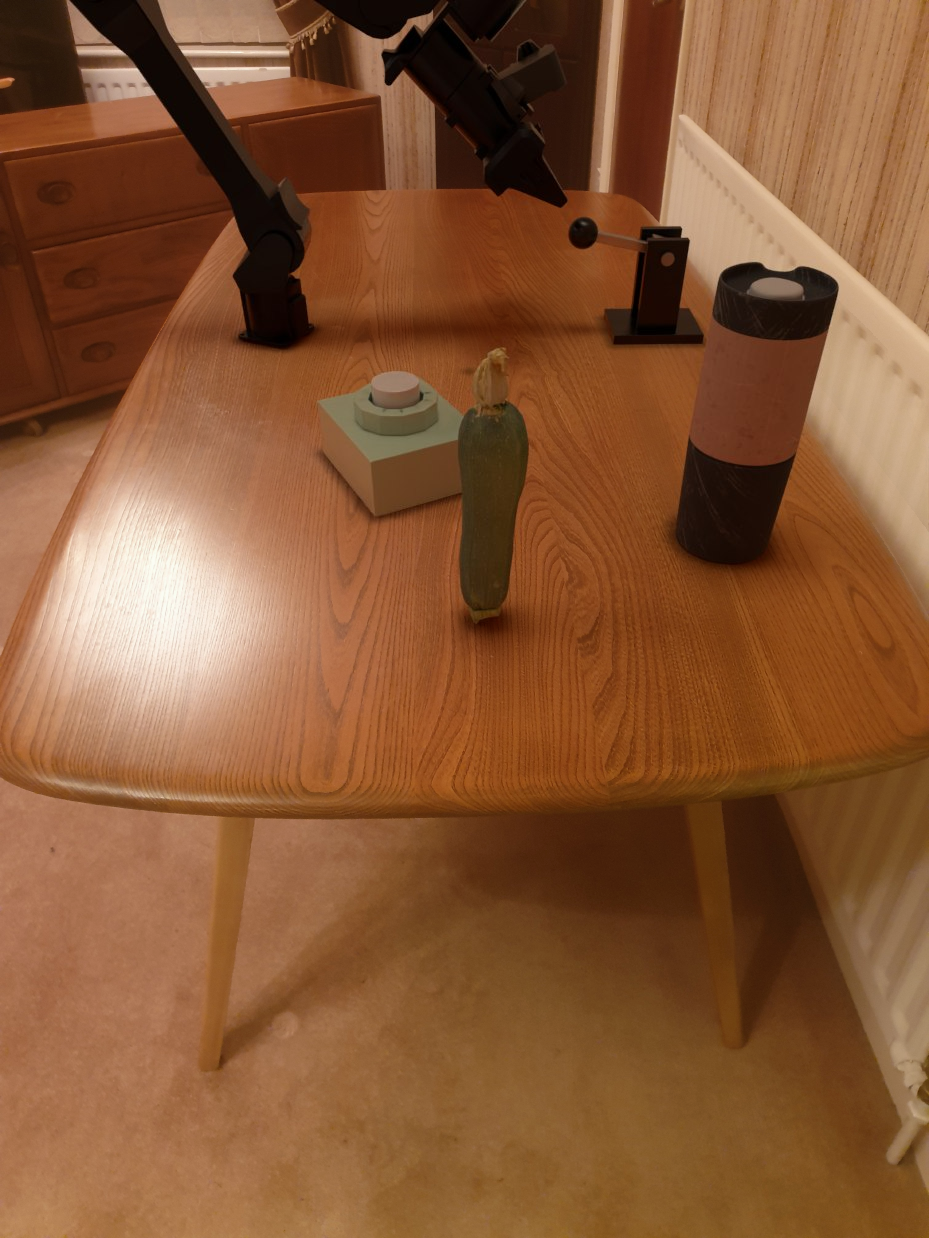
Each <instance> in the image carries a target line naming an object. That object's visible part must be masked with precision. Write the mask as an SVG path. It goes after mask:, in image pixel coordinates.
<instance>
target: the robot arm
mask: <svg viewBox="0 0 929 1238" xmlns="http://www.w3.org/2000/svg"><path fill="white" fill-rule="evenodd" d="M68 1H69V2H70V3H71V4H72V5H73V6H74V7H75V8H76V10H78V12H79V13H80V14H81V15H82V16H83V17H84V19H86V20H87V21H88V23H89V24H90V25H92V27H93V28H94V29H95V30H96V31H97V32H98V33H99V34H100V35H101V36H103V37H104V38H105V39H106V40H108V42H110V43H111V44H112V45H114V46H115V47H116V48H117V49H118V50H120V51H121V52H122V53H123V54H125V55H126V56H127V57H128V58H129V60H131V62H132V63H133V64H134V66H135V67H136V68H137V70H138V71H139V73H140V74H141V76H142V78H143V79H144V80H145V81H146V83H147V84H148V86H149V88H150V89H151V90H152V91H153V93H154V94H155V96H156V97H157V98H158V100H159V102H161V104H162V106H163V107H164V109H165V110H166V112H167V114H168V115H169V116H170V118H171V119H172V120H173V122H174V123H175V125H176V126H177V127H178V129H179V130H180V132H181V133H182V135H183V136H184V138H185V139H186V140H187V142H188V144H189V145H190V146H191V148H192V149H193V150H194V152H195V153H196V155H197V156H198V158H199V159H200V160H201V162H202V163H203V165H204V166H205V167H206V169H207V170H208V172H209V174H210V175H211V176H212V177H213V179H214V180H215V182H216V183H217V185H218V186H219V187H220V189H221V191H222V192H223V193H224V195H225V196H226V198H227V200H228V203H229V205H230V208H231V212H232V214H233V217H234V220H235V224H236V226H237V229H238V231H239V234H240V236H241V238H242V240H243V243H244V244H245V246H246V250H245V252H244V253H243V256H242V258H241V259H240V261H239V263H238V264H237V266H236V268H235V270H234V272H233V273H232V279H233V280H234V283H235V284H236V286H237V288H238V291H239V295H240V301H241V307H242V313H243V319H244V326H245V330H243V331H242V332H240V333H239V334H238V335H237V336H238V340H240V341H245V342H250V343H255V344H258V345H259V344H260V345H265V346H270V347H275V348H281V349H285V348H288V347H290V346H291V345H292V344H294V343H296V342H297V341H299V340H300V339H302V338H303V337H304V336H307V334H309V333H310V332H312V331H313V330H315V328H316V327H315V324H314V323H310V322H309V314H308V305H307V297H306V295H305V293H303V288H302V282H301V278H296V277H295V276H294V274H292V273H294V272H296V271H297V270H298V269H299V268H300V267H301V265H302V263H303V262H304V259H305V257H306V254H307V252H308V249H309V247H310V245H311V242H312V235H313V233H312V232H313V228H312V224H311V221H310V219H309V215H310V212H311V209H310V208H309V207H308V206H306V205H305V204H304V203H303V202H302V201H301V200H300V199H299V196H298V194H297V192H296V191H295V188H294V186H293V184H292V182H291V181H290V179H289V177H287V176H286V177H284V178H283V179H282V180H281V181H280V182H279V183H278V184H277V183H276V182H275V181H274V180H272V179H271V178H270V177H269V176H267V174H265V173H264V172H263V171H262V170H261V169H260V168H259V165H258V164H257V162H256V161H255V160H254V158H253V157H252V156H251V155H252V154H250V152H249V151H248V149H247V148H246V146H245V145H244V143H243V142H242V140H241V138H240V137H239V136H238V134H237V133H236V131H235V130H234V128H233V127H232V125H231V124H230V122H229V121H228V118H226V116H225V115H224V113H223V112H222V110H221V109H220V107H219V105H218V104H217V103H216V101H215V100H214V98H213V96H212V95H211V94H210V92H209V91H208V89H207V87H206V86H205V85H204V83H203V82H202V80H201V78H200V77H199V75H198V74H197V72H196V71H195V69H194V68H193V66H192V65H191V63H190V61H188V59H187V58H186V57H187V56H186V55H185V54H184V52H183V51H182V50H181V48H180V47H179V45H178V44H177V42H176V41H175V39H174V38H173V35H172V34H171V33H170V31H169V28H168V27H167V24H166V20H165V18H164V15H163V11H162V9H161V6H160V3H159V0H68ZM313 1H314V2H315V3H317V4H319V5H320V6H321V7H323V8H324V9H325V10H327V11H328V12H330V13H331V14H333V15H334V16H335V17H337V18H338V19H340V20H341V21H343V22H344V23H346V24H348V25H349V26H351V27H353V28H355V29H356V30H358V31H360V32H361V33H363V34H364V35H366V36H368V37H370V38H373V39H377V40H388V39H390V38H392V37H394V36H395V35H397V34H399V33H401V32H402V30H403V29H404V27H405V26H406V25H407V23H408V21H409V20H411V19H415V18H418V17H422V16H427V15H429V14H431V13H432V12H433V11H434V9H436V7H437V6H438V4H439V3H440V1H441V0H313ZM445 1H446V2H445V4H443V6H442V7H441V9H439V11H438V12H437V14H436V15H435V16H434V17H433V19H432V20H431V21H430V22H429V24H428V25H427V26H426V27H425V28H424V29H421V28H420V27H419V26H418V25H417V24H413V25H412V26H411V27H410V29H409V30H408V31H407V33H406V34H405V35H404V37H403V38H402V39H401V41H399V43H398V44H397V46H396V47H395V48H383V49H382V50H381V51H382V52H381V53H380V54H381V55H380V56H381V60H382V62H383V68H384V80H383V81H384V84H385V85H386V86H387V87H390V86H392V85H393V84H394V83H395V81H396V80H397V79H398V78H399V76H400V75H401V73H402V72H404V74H406V75H407V77H408V78H409V79H410V80H411V81H412V82H413V83H414V84H415V85H416V87H418V88H419V90H420V91H421V92H422V93H423V94H424V95H425V96H426V97H427V99H428V100H430V102H431V103H432V104H433V105H434V106H435V108H437V109H438V111H440V113H441V114H442V115H443V116H444V122H445V123H446V124H447V125H448V126H449V128H451V129H454V128H455V129H456V130H457V131H458V132H459V134H461V136H462V137H463V138H464V139H465V140H466V141H467V142H468V143H469V144H470V146H471V147H472V148H473V150H474V155H475V156H476V157H477V158H478V159H479V160H480V161H481V162H482V163H483V165H482V168H483V169H482V171H483V173H482V175H483V183H484V184H485V185H486V186H487V187H488V188H489V189H490V190H491V191H492V193H493V194H495V196H496V197H498V198H499V197H501V196H502V195H503V194H504V193H505V192H506V191H507V190H508V188H510V189H512V190H514V191H518V192H520V193H523V194H525V195H528V196H530V197H533V198H535V199H536V200H537V199H538V200H540V201H542V202H545V203H547V204H549V205H551V206H554V207H557V208H559V209H561V208H563V207H564V206H565V205H566V204H567V203H568V201H569V199H568V196H567V194H566V193H565V192H564V189H563V187H561V184H560V183H559V181H558V179H557V176H556V175H555V174H554V172H553V170H552V169H551V166H550V165H549V163H548V161H547V160H546V158H545V156H544V149H545V147H546V145H547V144H546V142H545V136H544V133H543V131H542V127H541V125H540V122H536V123H535V124H533V123H532V122H531V121H522V120H523V119H524V118H525V116H527V115H528V116H529V117H531V116H533V114H534V113H535V110H534V108H533V106H532V105H531V103H533V102H534V101H536V100H538V99H540V98H542V97H543V96H545V95H547V94H549V93H551V92H553V93H556V92H557V91H559V90H561V89H563V88H565V86H566V85H568V81H567V79H566V76H565V73H564V70H563V67H562V64H561V61H560V59H559V56H558V53H557V49H556V48H555V45H554V44H553V43H549V44H548V43H545V44H544V45H543V47H540V46H539V45H538V44H537V43H536V42H534V41H533V40H532V39H531V38H528V39H527V40H525V41H523V42H522V43H519V45H517V46H516V62H512V63H510V64H509V66H508V67H506V68H504V69H503V70H501V71H499V72H497V70H496V69H495V68H494V67H493V66H492V65H491V64H490V63H488V65H487V63H484V62H482V61H481V60H480V58H479V57H478V56H477V55H476V54H475V53H474V51H473V50H472V49H471V48H470V47H469V46H468V45H467V43H466V42H465V41H464V40H463V38H462V37H460V35H459V34H458V33H457V32H456V31H455V30H454V27H452V26H451V25H450V23H448V21H447V20H446V19H445V18H446V17H447V15H448V14H449V16H450V17H451V18H452V19H453V20H454V22H455V23H456V24H457V26H458V27H459V28H460V29H461V31H462V32H464V33H465V35H466V36H467V37H468V38H469V39H470V40H471V41H472V43H474V44H476V43H477V42H478V41H482V40H483V39H484V38H486V39H487V41H489V42H490V43H493V41H494V40H495V38H497V36H498V35H499V34H500V33H501V31H502V30H503V29H504V28H505V26H506V25H508V23H509V22H510V21H511V19H512V18H513V17H514V16H515V14H516V13H517V12H518V11H519V10H520V9H521V8H522V6H523V5H524V4H525V3H526V1H527V0H445Z"/></svg>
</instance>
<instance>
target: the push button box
mask: <svg viewBox="0 0 929 1238" xmlns="http://www.w3.org/2000/svg"><path fill="white" fill-rule="evenodd" d="M418 378H419V382H420V402H419V403H418V404H416V405H415V406H412V407H407V408H403V409H384V408H381V407H377V406H374V404H373V402H372V391H371V382H369V383H366V385H364V386H362V387H361V388H359V389H358V390H357V389H356V391H354V392H349V393H345V394H344V393H343V394H340V395H335V396H331V397H327V398H323V399H318V400H316V403H317V404H316V405H317V411H318V412H317V413H318V421H319V428H320V435H321V443H322V451H323V454H324V455H325V457H326V458H327V460H328V461H329V462H330V463H331V464H332V465H333V467H334V468H335V469H336V470H337V472H338V473H339V474H340V475H341V477H342V478H343V479H344V480H345V482H346V483H347V484H348V485H349V487H350V488H351V489H352V490H353V492H354V493H355V494H356V495H357V496H358V498H359V499H360V500H361V501H362V503H363V504H364V505H365V506H366V508H367V509H368V510H369V511H370V512H371V514H372V515H373V517H375V518H379V517H382V516H385V515H388V514H392V513H395V512H400V511H402V510H403V511H404V510H406V509H410V508H413V507H416V506H420V505H424V504H428V503H430V502H434V501H437V500H441V499H445V498H448V497H451V496H455V495H458V494H462V485H461V478H460V467H459V461H458V433H459V428H460V425H461V422H462V419H463V417H464V414H462V413H461V412H460V411H459V410H458V409H457V408H455V407H454V406H453V405H452V404H451V403H450V402H449V401H448V400H446V398H444V397H443V396H442V395H441V394H440V393H439V392H438V390H436V389H435V388H434V387H432V385H431V384H429V383H427V382H426V381H425V380H424V379H423V378H422V377H418Z"/></svg>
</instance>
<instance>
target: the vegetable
mask: <svg viewBox="0 0 929 1238" xmlns="http://www.w3.org/2000/svg"><path fill="white" fill-rule="evenodd" d="M506 359H508V360H510V359H511V357H509V356H508V353H507V348H506V347H496V348H494V349H493V350H491V351H489V352H487V357H486V358H484V359H482V360H481V363H480V364H479V365H478V366H477V368H476V370H475V371H474V373H473V377H472V383H471V392H472V395H473V398H474V399H475V400H476V403H474V404H473V405H472V406H471V407H470V408H469V409H467V411H466V412H465V414H463V416H464V417H463V419H462V422H461V425H460V428H459V433H458V461H459V467H460V478H461V485H462V493H461V497H462V498H461V500H462V504H461V508H462V509H461V517H462V518H461V534H460V535H461V536H460V543H459V557H458V558H459V559H458V568H459V569H458V570H459V586H460V592H461V595H462V598H463V600H464V602H465V604H466V605H467V606H468V610H469V613H470V616H471V619H472V621H473V623H474V624H478V623H479V621H481V620H484V619H486V618H487V619H488V618H495V617H496V618H497V617H500V613H501V609H502V607H501V606H502V604H503V603H504V602H505V601H506V599H507V597H508V594H509V587H510V578H511V571H512V563H513V557H514V544H515V543H514V541H515V539H514V537H515V531H516V521H517V513H518V509H519V503H520V499H521V497H522V494H523V491H524V487H525V483H526V476H527V471H528V463H529V455H530V441H529V436H528V430H527V426H526V422H525V419H524V416H523V414H522V412H521V411H520V410H519V409H518V407H516V406H515V405H514V404H513V403H511V402H510V401H508V400H507V399H508V398H509V392H510V389H509V388H510V387H509V382H508V377H510V375H509V373H508V371H507V369H508V368H507V367H508V366H507V365H508V361H507V360H506Z"/></svg>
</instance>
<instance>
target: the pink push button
mask: <svg viewBox="0 0 929 1238" xmlns="http://www.w3.org/2000/svg"><path fill="white" fill-rule="evenodd" d="M370 383H371V391H372V402H373V404H374V406H377V407H381V408H384V409H403V408H407V407H412V406H415V405H416V404H418V403H419V402H420V382H419V377H418V376H417V375H416V374H414V373H412V372H408V371H403V370H392V371H384V372H382V373H378V374H377V375H375V376H373V378H372V379H371V381H370Z"/></svg>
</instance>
